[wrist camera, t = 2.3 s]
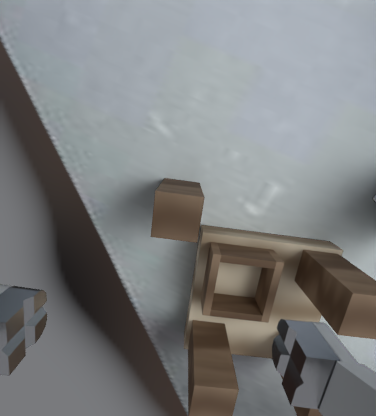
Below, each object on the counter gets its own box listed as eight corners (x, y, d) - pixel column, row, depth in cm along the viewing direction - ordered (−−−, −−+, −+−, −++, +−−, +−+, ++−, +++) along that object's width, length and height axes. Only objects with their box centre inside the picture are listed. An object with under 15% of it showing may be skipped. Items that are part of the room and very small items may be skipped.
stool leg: (164, 178, 26) (155, 190, 18) (199, 182, 26) (204, 197, 19) (161, 211, 27) (150, 236, 19) (194, 215, 27) (197, 242, 20)
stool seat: (201, 224, 28) (209, 269, 17) (329, 241, 28) (409, 294, 18) (184, 333, 32) (182, 421, 21) (296, 345, 32) (346, 437, 22)
